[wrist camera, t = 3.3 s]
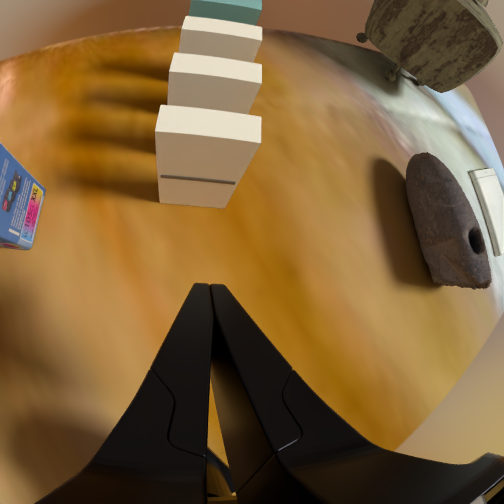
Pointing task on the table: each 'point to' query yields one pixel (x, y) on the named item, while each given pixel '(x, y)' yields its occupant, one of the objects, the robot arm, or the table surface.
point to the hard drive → (491, 205)
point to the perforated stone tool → (446, 225)
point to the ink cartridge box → (18, 203)
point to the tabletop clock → (434, 39)
